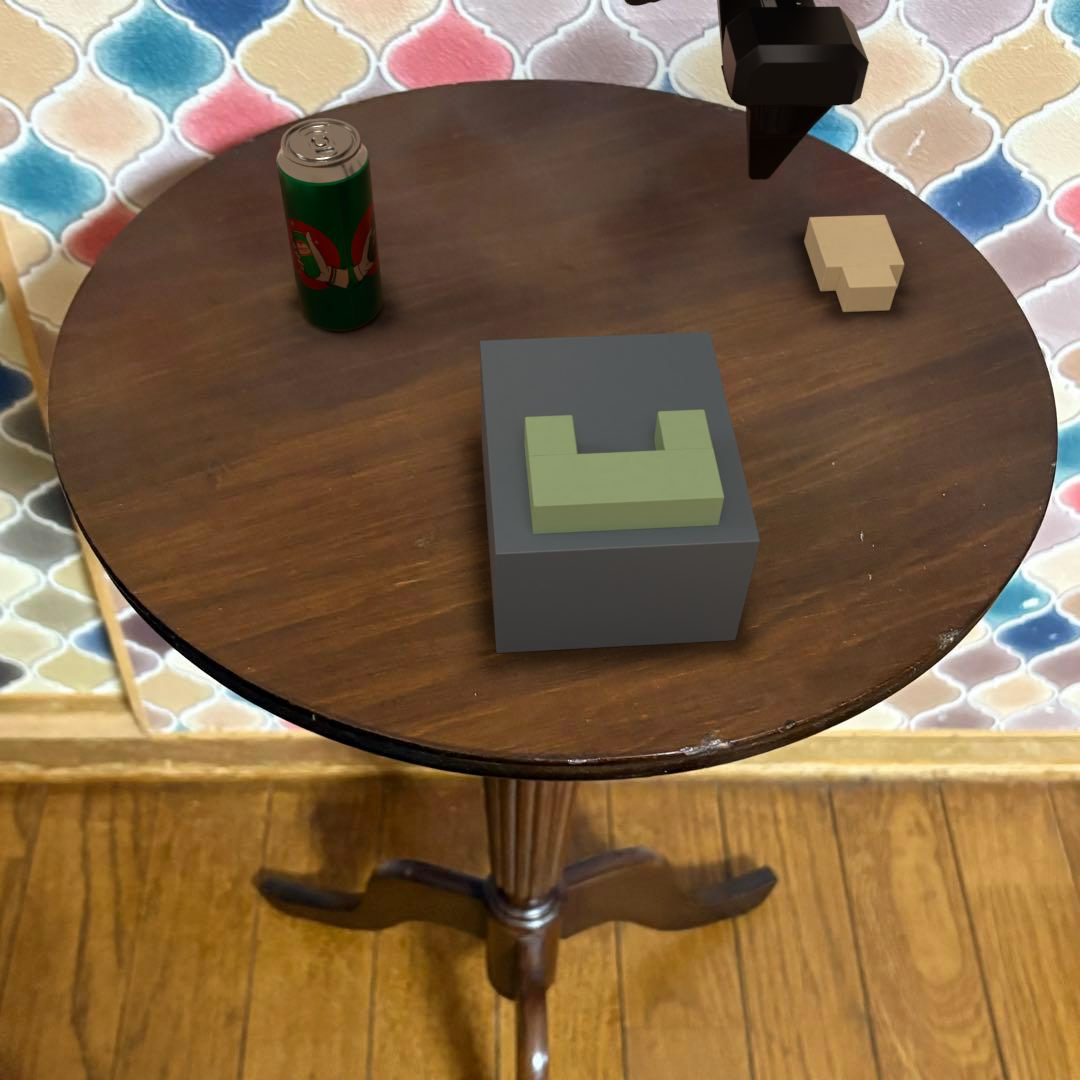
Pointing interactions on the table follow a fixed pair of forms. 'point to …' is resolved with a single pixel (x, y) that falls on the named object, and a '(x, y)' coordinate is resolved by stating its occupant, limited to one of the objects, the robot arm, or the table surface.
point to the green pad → (622, 478)
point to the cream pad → (855, 260)
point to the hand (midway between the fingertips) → (745, 128)
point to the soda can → (331, 223)
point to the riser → (617, 555)
